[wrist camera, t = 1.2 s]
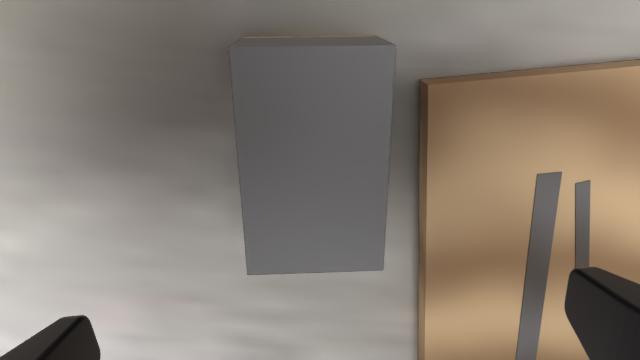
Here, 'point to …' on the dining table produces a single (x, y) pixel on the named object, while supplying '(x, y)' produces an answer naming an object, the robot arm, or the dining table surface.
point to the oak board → (523, 204)
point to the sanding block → (313, 150)
